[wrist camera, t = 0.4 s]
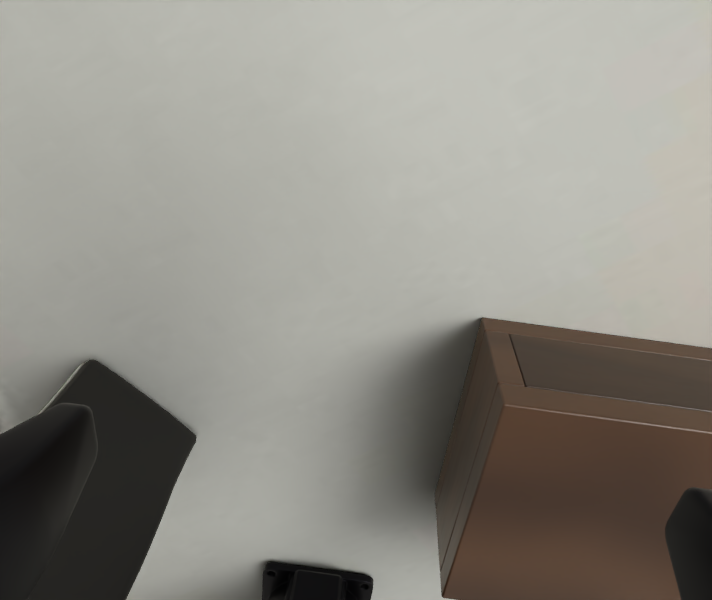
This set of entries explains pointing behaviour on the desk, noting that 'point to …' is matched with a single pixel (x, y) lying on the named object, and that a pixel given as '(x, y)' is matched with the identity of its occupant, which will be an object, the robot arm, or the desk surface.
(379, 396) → the desk surface
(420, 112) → the desk surface
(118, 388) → the battery charger
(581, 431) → the walnut keepsake box
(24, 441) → the robot arm
